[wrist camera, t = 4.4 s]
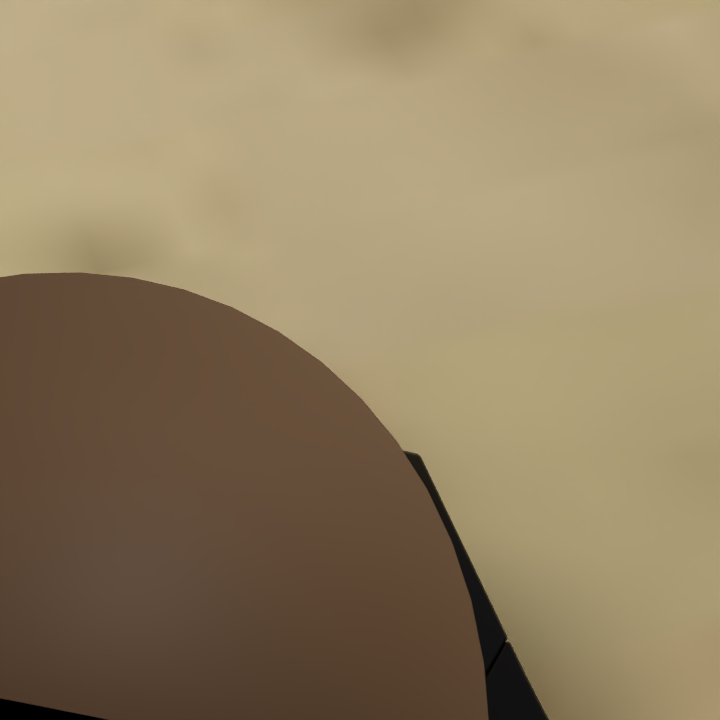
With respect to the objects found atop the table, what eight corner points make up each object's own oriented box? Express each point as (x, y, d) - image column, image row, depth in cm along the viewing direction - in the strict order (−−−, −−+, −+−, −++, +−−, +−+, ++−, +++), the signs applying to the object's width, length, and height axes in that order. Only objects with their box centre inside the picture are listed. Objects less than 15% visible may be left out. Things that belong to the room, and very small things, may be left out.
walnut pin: (280, 587, 14) (-267, 1783, 1) (206, 475, 15) (-672, 622, 2) (387, 504, 15) (681, 832, 2) (313, 399, 15) (171, 131, 3)
